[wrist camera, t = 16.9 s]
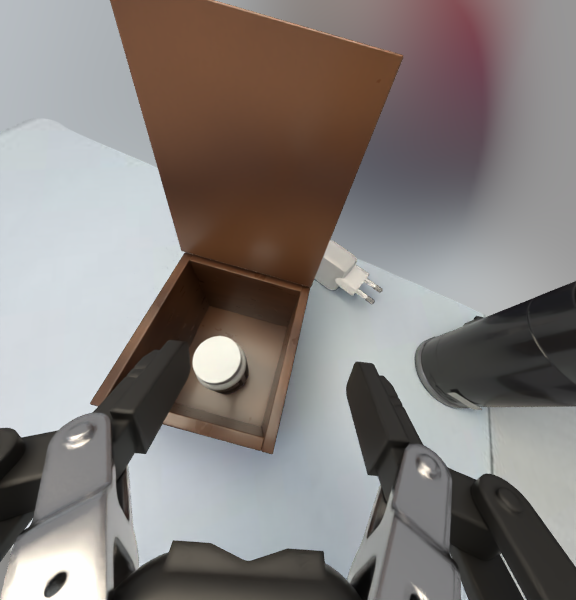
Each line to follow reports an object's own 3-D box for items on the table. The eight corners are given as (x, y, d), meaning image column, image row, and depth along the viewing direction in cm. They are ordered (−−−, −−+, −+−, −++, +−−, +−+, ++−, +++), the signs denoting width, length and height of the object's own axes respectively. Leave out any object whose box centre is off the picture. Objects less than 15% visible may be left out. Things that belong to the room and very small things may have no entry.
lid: (404, 55, 8) (401, 54, 9) (99, -33, 8) (114, -29, 9) (310, 287, 20) (312, 281, 20) (181, 251, 20) (185, 245, 20)
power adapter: (373, 297, 34) (395, 277, 29) (359, 317, 32) (379, 300, 27) (318, 257, 36) (329, 232, 31) (302, 274, 34) (310, 250, 29)
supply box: (265, 436, 24) (272, 454, 14) (156, 406, 23) (88, 404, 14) (293, 325, 30) (310, 287, 20) (207, 301, 30) (184, 251, 20)
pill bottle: (221, 346, 27) (208, 322, 19) (255, 363, 26) (255, 344, 19) (199, 383, 24) (174, 372, 17) (235, 402, 24) (227, 398, 17)
